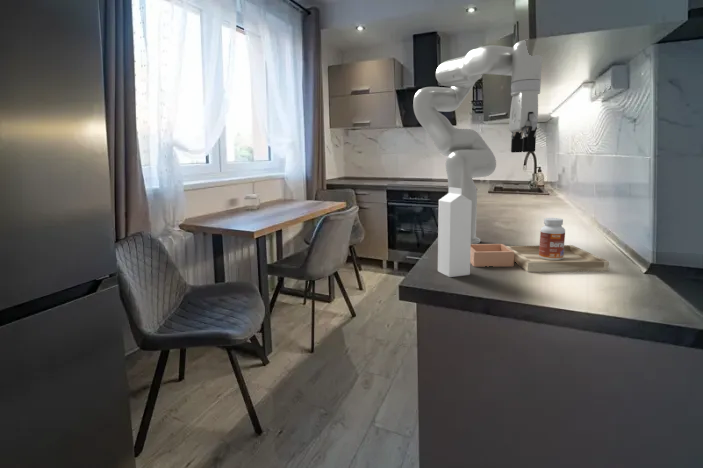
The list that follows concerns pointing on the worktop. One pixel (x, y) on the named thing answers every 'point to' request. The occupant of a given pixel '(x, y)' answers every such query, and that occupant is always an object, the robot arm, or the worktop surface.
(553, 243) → the pill bottle
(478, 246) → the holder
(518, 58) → the robot arm
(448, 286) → the worktop surface
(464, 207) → the milk
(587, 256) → the tray
